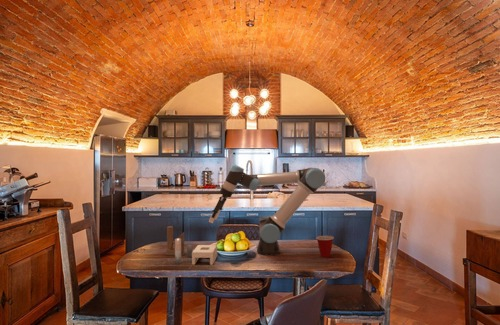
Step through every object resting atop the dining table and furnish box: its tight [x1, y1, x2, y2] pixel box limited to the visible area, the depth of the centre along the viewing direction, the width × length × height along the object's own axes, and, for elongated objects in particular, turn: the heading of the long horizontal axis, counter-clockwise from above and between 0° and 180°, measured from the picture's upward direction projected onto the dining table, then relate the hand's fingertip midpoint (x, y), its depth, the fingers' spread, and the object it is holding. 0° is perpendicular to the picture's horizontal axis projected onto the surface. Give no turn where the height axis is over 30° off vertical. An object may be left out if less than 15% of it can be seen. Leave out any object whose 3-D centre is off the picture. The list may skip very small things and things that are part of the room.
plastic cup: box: [315, 235, 334, 258], centre depth 199 cm, size 11×11×12 cm
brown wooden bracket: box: [165, 225, 185, 257], centre depth 203 cm, size 4×11×18 cm, turn 85°
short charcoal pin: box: [186, 244, 194, 258], centre depth 200 cm, size 4×4×7 cm
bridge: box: [191, 244, 218, 266], centre depth 192 cm, size 12×16×7 cm
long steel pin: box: [174, 237, 182, 265], centre depth 188 cm, size 4×4×14 cm
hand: (212, 220), depth 194 cm, fingers open, 13 cm apart
